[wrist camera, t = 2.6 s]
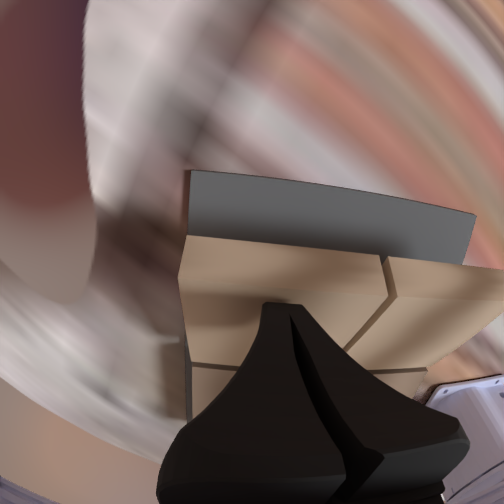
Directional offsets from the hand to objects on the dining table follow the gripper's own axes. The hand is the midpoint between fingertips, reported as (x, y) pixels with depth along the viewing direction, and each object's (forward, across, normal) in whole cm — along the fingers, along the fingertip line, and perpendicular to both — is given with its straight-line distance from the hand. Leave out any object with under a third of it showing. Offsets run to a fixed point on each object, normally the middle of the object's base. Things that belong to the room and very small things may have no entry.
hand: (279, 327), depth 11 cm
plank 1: (+3, 0, +1) cm, 4 cm away
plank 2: (+3, -8, +1) cm, 8 cm away
